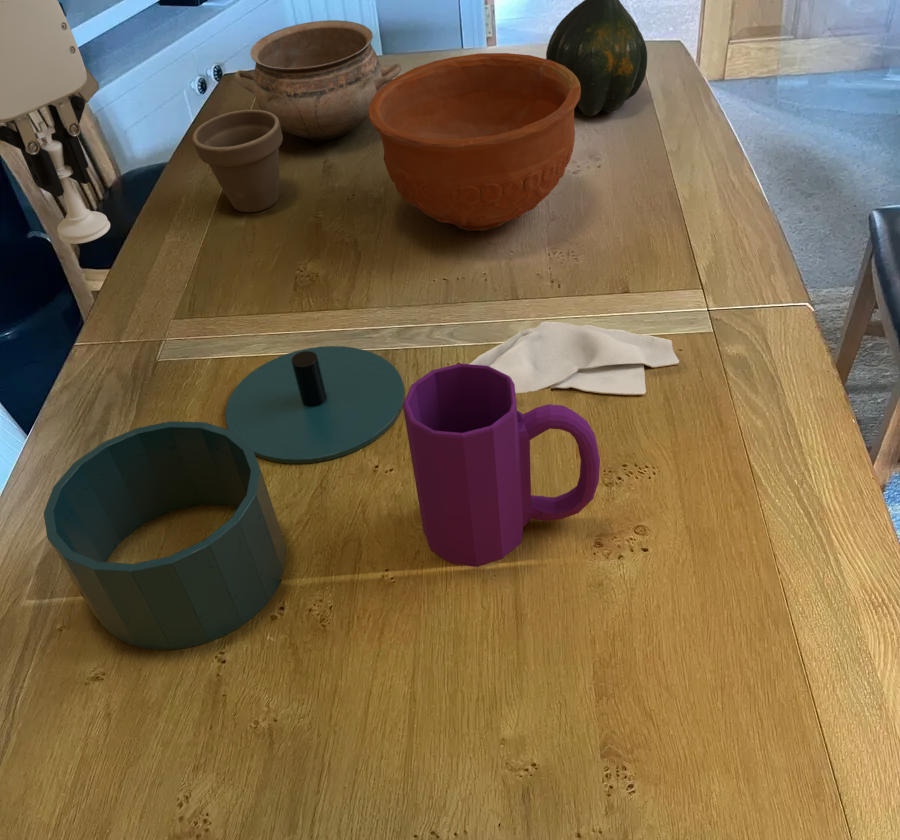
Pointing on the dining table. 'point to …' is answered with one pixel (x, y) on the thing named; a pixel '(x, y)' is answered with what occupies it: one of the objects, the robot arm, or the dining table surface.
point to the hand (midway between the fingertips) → (65, 184)
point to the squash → (600, 53)
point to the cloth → (579, 358)
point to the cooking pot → (317, 77)
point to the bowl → (477, 135)
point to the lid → (315, 404)
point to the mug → (485, 462)
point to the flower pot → (243, 156)
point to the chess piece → (72, 198)
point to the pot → (152, 495)
